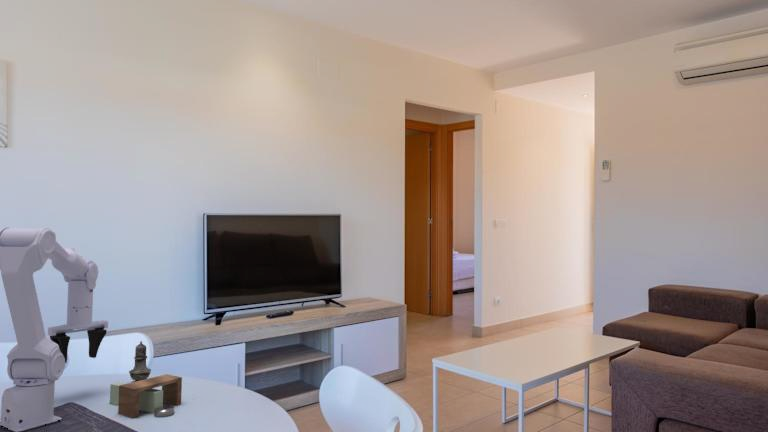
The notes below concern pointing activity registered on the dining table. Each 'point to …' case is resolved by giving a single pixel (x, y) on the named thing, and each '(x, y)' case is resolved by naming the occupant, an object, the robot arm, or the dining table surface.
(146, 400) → the bar
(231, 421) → the dining table surface
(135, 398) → the wooden bridge block
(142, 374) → the salt shaker
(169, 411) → the disc
